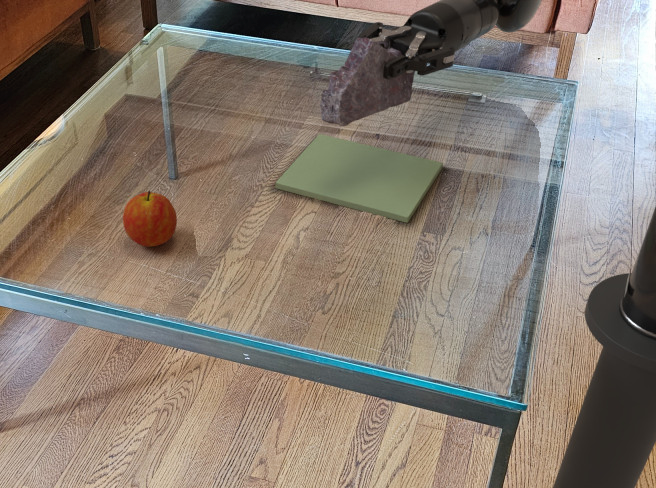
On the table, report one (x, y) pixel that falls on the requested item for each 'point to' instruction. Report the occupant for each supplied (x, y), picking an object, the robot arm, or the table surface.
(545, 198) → the table surface
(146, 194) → the fruit
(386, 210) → the mat
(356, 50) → the stone
